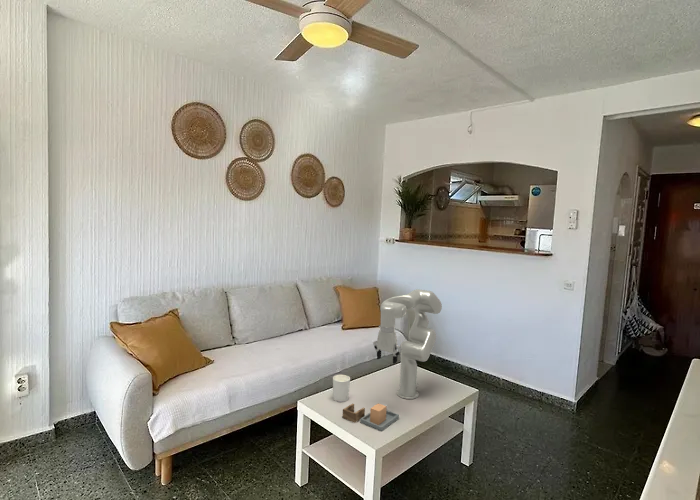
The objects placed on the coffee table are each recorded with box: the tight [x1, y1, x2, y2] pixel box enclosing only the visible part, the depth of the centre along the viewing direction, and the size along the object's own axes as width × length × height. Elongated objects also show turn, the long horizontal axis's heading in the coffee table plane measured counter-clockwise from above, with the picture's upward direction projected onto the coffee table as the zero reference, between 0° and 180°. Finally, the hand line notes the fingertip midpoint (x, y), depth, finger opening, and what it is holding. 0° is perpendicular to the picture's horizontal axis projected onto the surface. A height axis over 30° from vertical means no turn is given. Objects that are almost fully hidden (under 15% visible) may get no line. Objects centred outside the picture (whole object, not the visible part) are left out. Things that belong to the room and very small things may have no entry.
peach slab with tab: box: [369, 403, 388, 425], centre depth 197 cm, size 11×5×7 cm, turn 143°
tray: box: [359, 409, 400, 432], centre depth 197 cm, size 17×13×2 cm
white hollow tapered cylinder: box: [332, 374, 351, 403], centre depth 220 cm, size 10×10×12 cm
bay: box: [342, 403, 366, 424], centre depth 200 cm, size 8×8×4 cm
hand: (386, 360), depth 206 cm, fingers open, 9 cm apart
